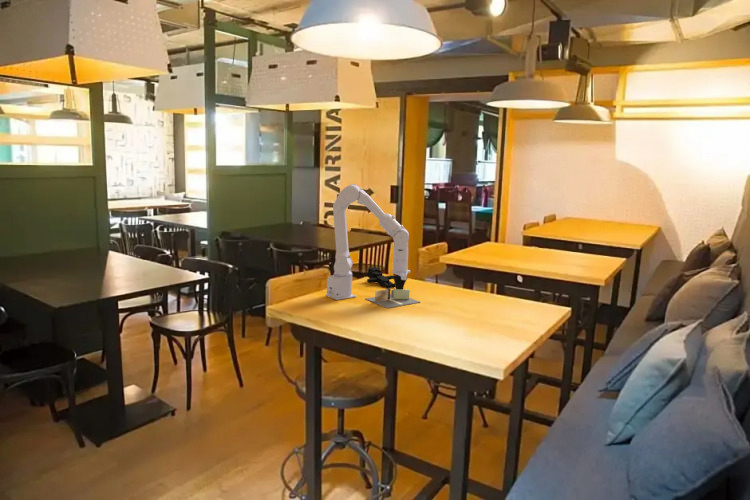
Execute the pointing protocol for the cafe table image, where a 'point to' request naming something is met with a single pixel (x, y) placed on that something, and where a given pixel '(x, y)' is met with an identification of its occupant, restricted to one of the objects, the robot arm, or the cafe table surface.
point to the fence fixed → (382, 294)
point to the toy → (379, 277)
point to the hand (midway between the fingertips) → (399, 293)
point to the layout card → (393, 302)
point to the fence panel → (400, 293)
